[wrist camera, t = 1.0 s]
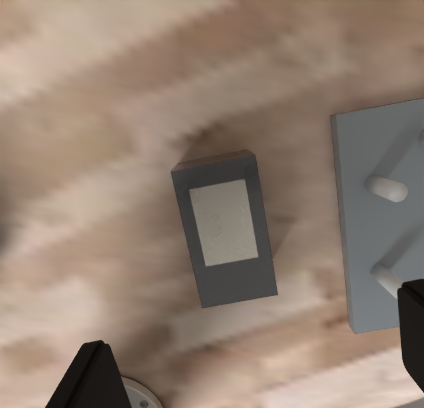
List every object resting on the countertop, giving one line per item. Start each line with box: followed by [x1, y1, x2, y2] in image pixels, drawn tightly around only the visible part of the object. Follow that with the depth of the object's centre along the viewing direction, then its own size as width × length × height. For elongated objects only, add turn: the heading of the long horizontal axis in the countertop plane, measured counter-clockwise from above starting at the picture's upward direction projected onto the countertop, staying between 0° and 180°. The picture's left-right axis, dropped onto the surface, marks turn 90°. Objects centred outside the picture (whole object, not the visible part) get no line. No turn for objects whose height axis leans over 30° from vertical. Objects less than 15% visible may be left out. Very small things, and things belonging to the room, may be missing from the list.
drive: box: [171, 150, 278, 308], centre depth 26 cm, size 11×6×5 cm, turn 11°
